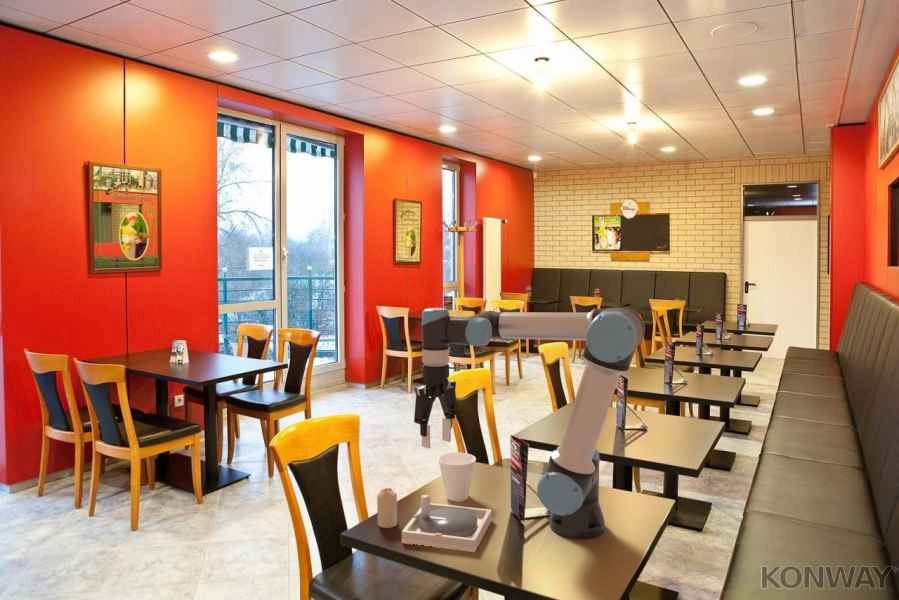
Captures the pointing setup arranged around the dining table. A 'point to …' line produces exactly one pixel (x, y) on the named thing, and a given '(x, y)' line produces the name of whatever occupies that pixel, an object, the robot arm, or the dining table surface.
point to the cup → (457, 474)
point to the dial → (446, 520)
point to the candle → (387, 508)
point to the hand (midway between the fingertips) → (436, 443)
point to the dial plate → (470, 543)
